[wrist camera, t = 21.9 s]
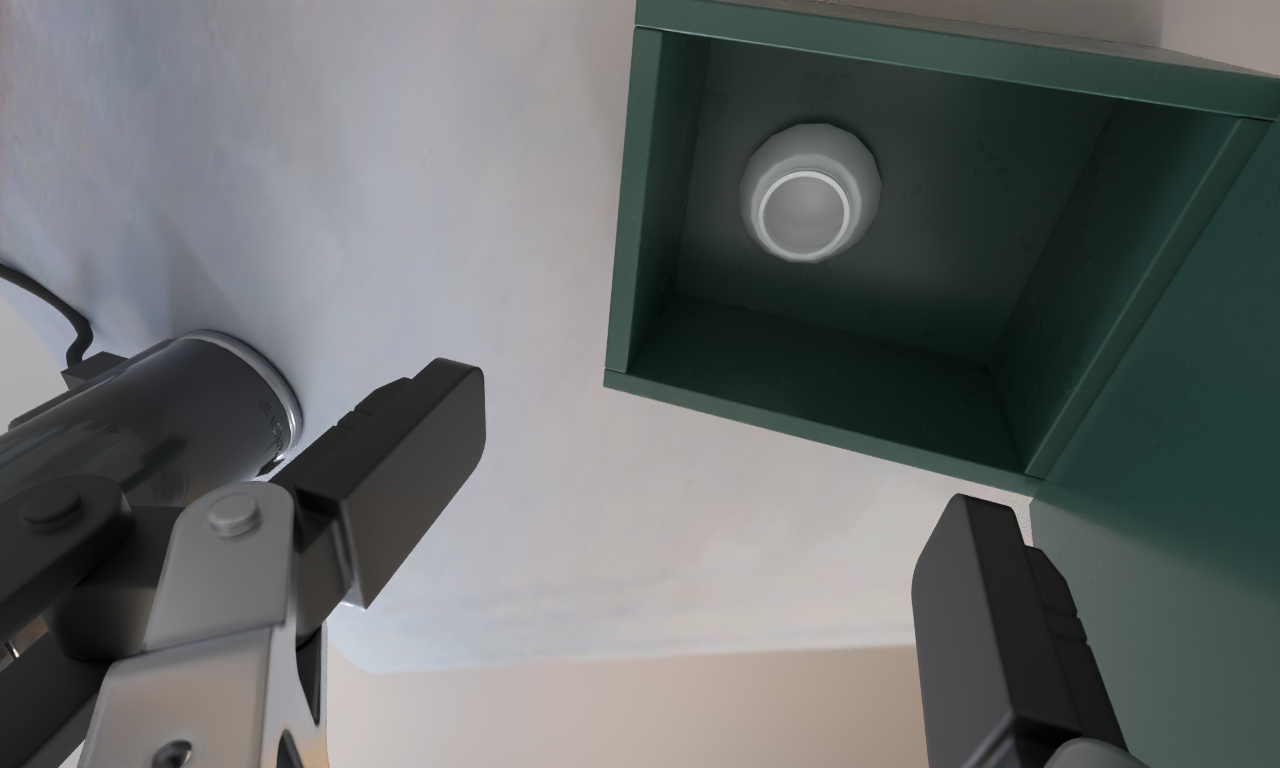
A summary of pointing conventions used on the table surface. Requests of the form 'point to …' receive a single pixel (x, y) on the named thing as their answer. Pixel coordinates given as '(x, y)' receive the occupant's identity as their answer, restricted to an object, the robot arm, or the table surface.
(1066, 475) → the bin lid
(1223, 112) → the waste bin
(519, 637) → the table surface
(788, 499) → the table surface
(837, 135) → the white jar
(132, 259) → the table surface
